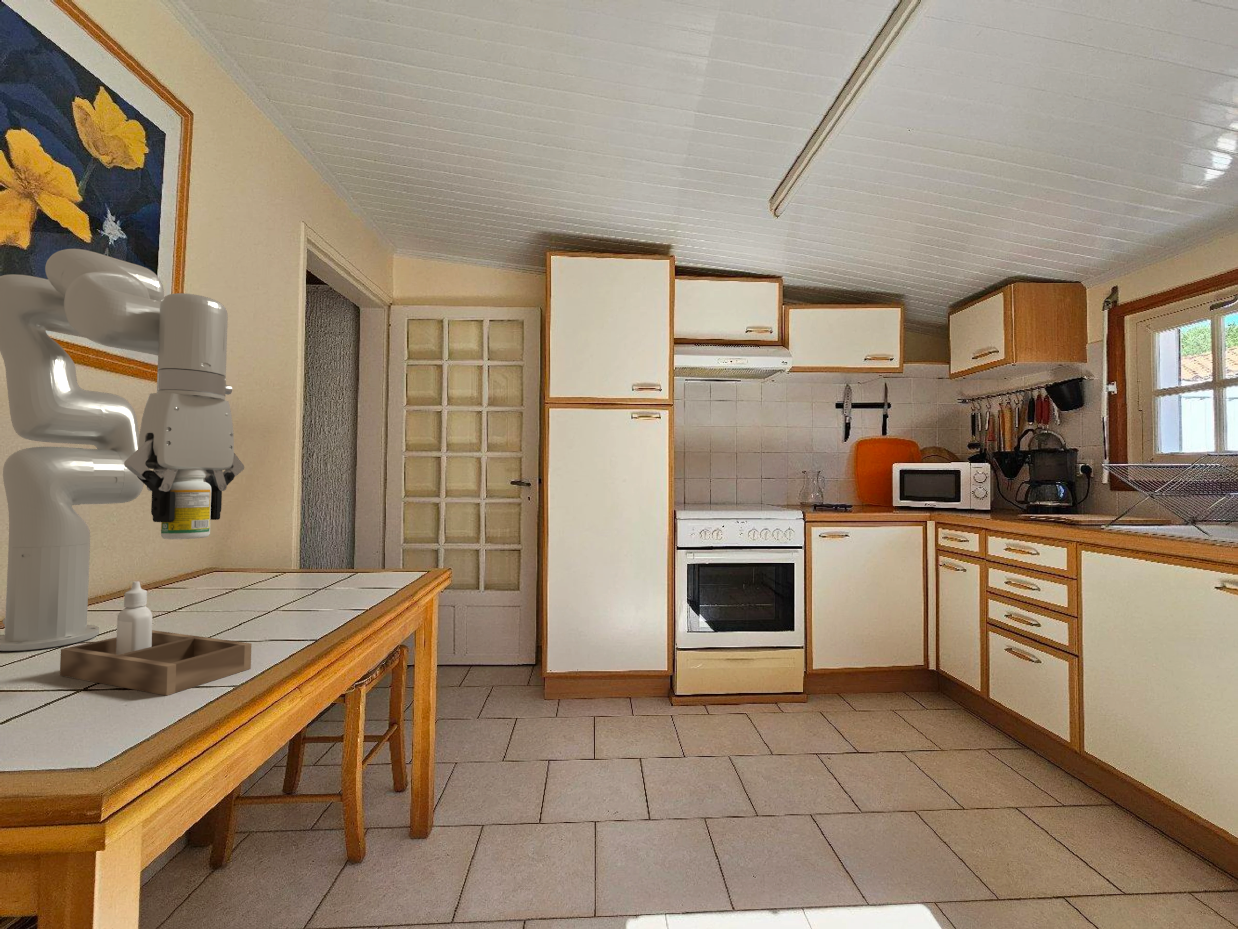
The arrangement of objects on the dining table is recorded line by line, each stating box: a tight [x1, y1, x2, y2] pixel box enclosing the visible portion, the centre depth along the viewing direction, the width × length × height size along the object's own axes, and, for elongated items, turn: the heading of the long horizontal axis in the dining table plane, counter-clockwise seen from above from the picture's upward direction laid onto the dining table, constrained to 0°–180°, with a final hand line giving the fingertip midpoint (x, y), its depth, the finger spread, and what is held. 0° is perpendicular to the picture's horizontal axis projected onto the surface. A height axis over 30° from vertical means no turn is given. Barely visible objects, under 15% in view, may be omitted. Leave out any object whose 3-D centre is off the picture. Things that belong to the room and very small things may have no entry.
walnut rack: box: [59, 629, 252, 696], centre depth 79 cm, size 21×11×4 cm, turn 71°
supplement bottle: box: [160, 469, 211, 540], centre depth 78 cm, size 5×5×10 cm
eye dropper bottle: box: [116, 580, 153, 655], centre depth 81 cm, size 4×6×12 cm
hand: (187, 519), depth 78 cm, fingers closed on supplement bottle, 5 cm apart
